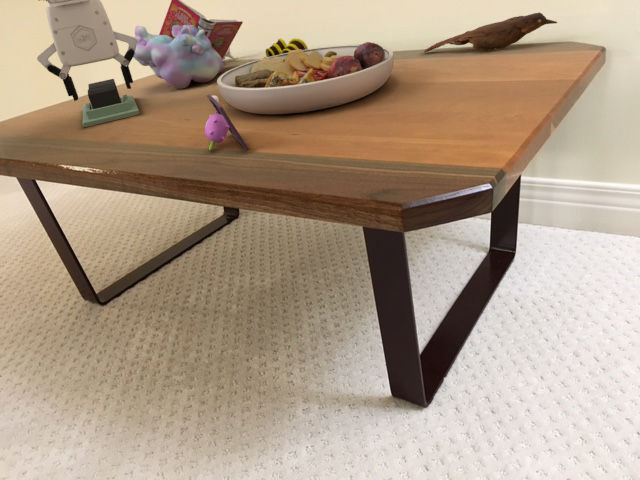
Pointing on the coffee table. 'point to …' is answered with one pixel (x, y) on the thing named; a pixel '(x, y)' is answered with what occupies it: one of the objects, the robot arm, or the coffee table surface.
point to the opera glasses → (285, 47)
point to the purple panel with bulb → (220, 125)
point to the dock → (109, 108)
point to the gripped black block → (103, 96)
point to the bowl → (307, 79)
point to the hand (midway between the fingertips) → (103, 93)
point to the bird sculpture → (498, 33)
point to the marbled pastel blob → (185, 46)
